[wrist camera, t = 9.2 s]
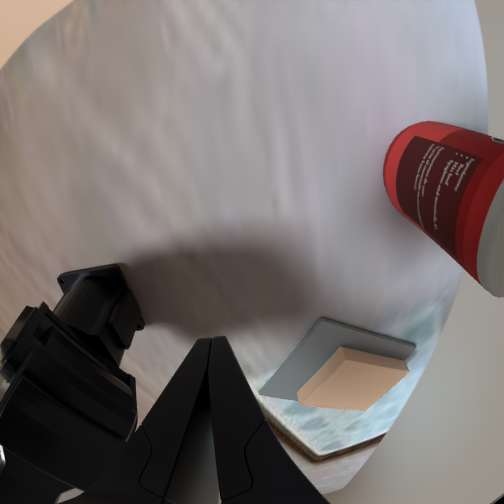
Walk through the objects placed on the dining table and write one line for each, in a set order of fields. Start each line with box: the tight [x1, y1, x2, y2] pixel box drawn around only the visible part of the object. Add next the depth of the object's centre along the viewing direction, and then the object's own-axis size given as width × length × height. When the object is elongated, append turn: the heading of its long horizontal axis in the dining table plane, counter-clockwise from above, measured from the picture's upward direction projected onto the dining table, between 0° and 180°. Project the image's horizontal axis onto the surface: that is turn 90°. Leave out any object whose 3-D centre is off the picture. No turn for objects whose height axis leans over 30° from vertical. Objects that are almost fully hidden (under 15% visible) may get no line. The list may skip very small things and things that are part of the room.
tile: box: [297, 346, 409, 411], centre depth 27 cm, size 2×8×10 cm
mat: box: [259, 317, 416, 401], centre depth 28 cm, size 14×12×1 cm
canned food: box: [383, 121, 504, 297], centre depth 13 cm, size 8×8×11 cm
